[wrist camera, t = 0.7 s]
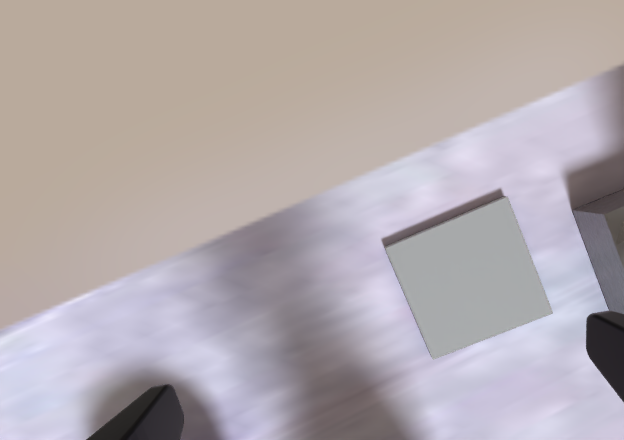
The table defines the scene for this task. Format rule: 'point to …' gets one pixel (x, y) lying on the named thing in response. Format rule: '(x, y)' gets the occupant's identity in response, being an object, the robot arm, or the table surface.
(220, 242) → the table surface
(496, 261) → the mat
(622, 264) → the eye block
